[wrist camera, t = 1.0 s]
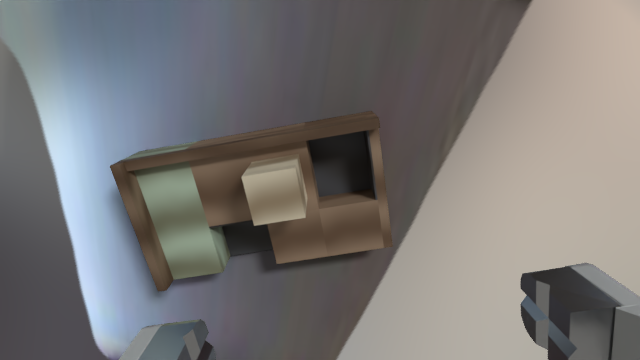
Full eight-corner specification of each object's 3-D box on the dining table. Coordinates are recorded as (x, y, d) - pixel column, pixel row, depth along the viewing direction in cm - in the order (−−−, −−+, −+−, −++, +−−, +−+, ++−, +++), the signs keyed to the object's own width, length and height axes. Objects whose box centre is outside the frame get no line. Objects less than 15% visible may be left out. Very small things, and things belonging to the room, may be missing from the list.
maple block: (251, 162, 36) (241, 176, 31) (298, 154, 36) (295, 167, 31) (262, 205, 38) (254, 225, 33) (307, 198, 37) (305, 217, 32)
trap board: (139, 151, 40) (109, 166, 34) (371, 110, 38) (380, 119, 32) (178, 262, 44) (158, 291, 39) (386, 230, 43) (396, 255, 37)
